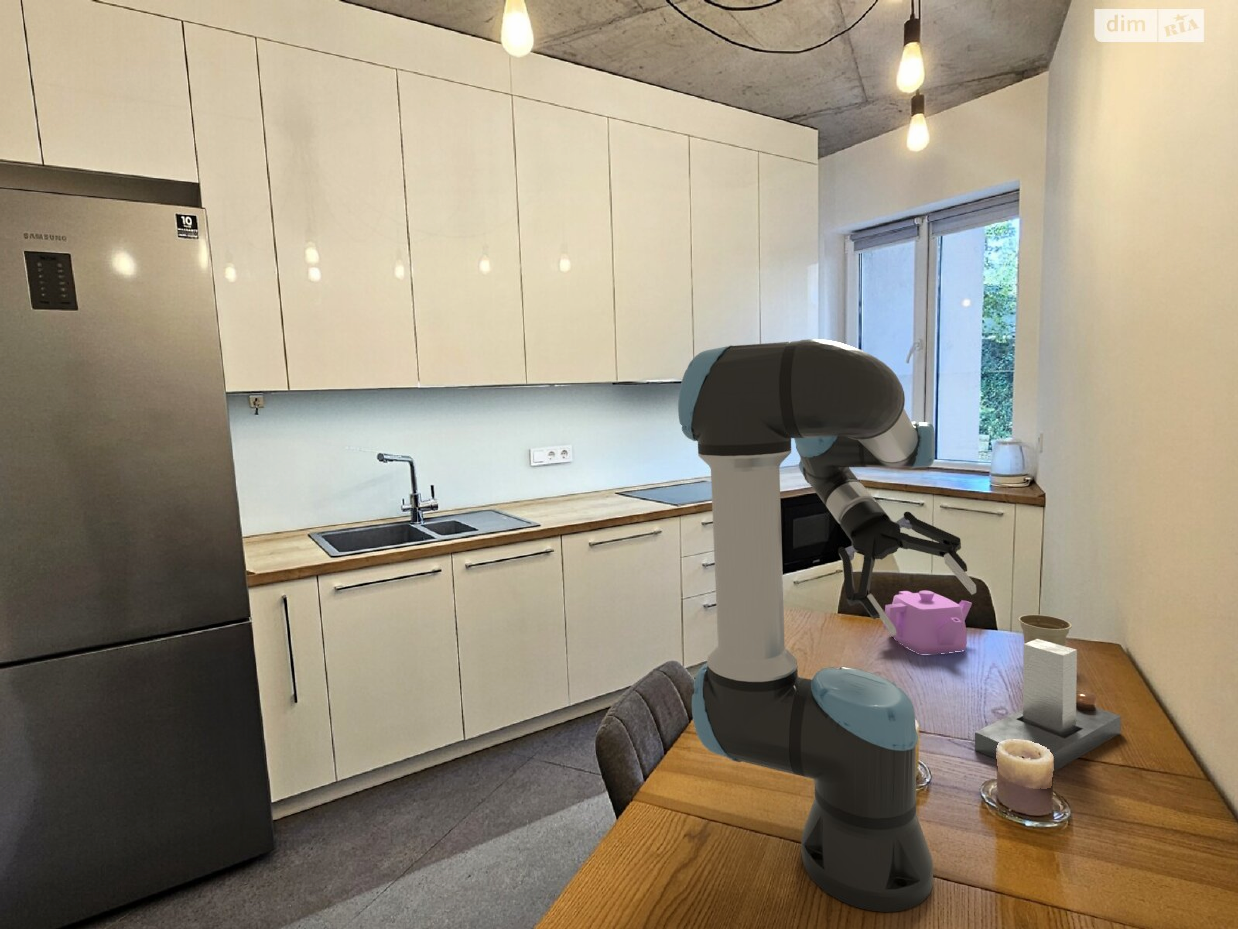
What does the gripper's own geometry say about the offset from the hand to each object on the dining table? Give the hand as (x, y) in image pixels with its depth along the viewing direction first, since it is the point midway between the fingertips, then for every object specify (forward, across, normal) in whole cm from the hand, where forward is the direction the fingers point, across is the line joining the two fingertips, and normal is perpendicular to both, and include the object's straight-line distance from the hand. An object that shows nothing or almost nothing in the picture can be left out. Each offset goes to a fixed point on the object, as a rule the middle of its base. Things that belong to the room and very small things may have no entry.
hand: (933, 611), depth 100 cm
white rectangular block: (+17, -7, -26) cm, 32 cm away
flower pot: (0, -22, -54) cm, 59 cm away
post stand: (+17, -7, -26) cm, 32 cm away
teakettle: (-14, -5, -55) cm, 57 cm away
